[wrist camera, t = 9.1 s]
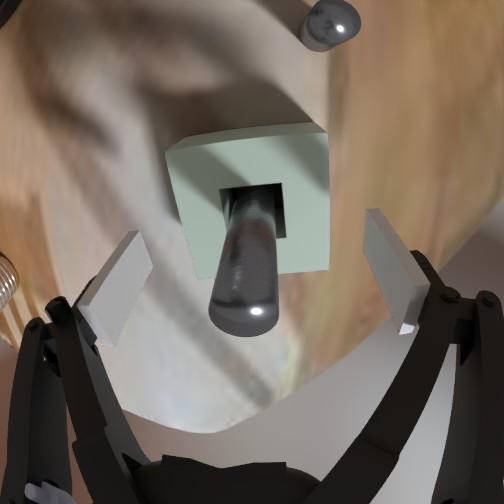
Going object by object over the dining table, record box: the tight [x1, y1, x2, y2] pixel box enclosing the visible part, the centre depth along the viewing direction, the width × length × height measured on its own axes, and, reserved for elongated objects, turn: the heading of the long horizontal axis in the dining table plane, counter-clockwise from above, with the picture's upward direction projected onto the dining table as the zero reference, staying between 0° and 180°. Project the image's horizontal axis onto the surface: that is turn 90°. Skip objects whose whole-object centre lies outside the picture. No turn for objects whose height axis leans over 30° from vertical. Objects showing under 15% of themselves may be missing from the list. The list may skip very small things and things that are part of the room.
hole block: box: [164, 122, 330, 279], centre depth 21 cm, size 10×10×5 cm
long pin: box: [209, 183, 279, 337], centre depth 17 cm, size 3×3×14 cm
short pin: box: [299, 0, 361, 52], centre depth 13 cm, size 3×3×6 cm
